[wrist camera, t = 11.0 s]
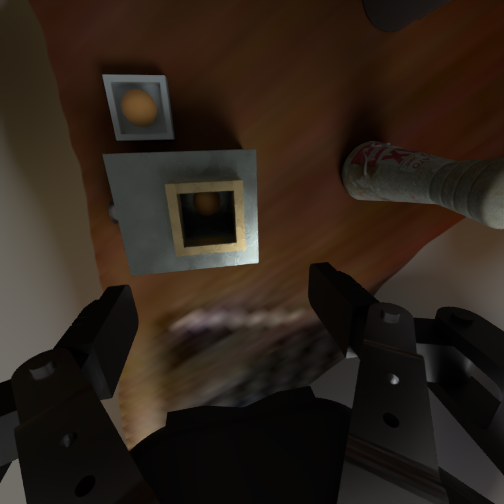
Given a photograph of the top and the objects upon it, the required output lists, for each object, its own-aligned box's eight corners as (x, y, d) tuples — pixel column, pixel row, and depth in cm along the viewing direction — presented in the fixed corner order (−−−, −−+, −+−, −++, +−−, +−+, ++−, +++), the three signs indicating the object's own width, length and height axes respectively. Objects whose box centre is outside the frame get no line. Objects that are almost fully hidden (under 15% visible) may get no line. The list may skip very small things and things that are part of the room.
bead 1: (156, 93, 32) (150, 85, 29) (161, 127, 34) (156, 125, 30) (123, 92, 32) (113, 85, 28) (130, 128, 33) (121, 125, 30)
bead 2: (218, 185, 38) (220, 189, 34) (220, 211, 40) (222, 217, 36) (191, 186, 37) (190, 190, 34) (194, 212, 39) (193, 219, 35)
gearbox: (242, 149, 37) (260, 149, 26) (246, 238, 43) (262, 270, 31) (112, 153, 35) (69, 155, 23) (134, 248, 40) (107, 287, 29)
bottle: (332, 195, 43) (525, 264, 17) (347, 137, 40) (611, 115, 14) (376, 201, 45) (609, 271, 19) (394, 146, 41) (701, 142, 16)
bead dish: (167, 80, 33) (164, 75, 30) (175, 139, 35) (173, 139, 33) (109, 79, 32) (102, 74, 29) (122, 141, 34) (116, 140, 32)
